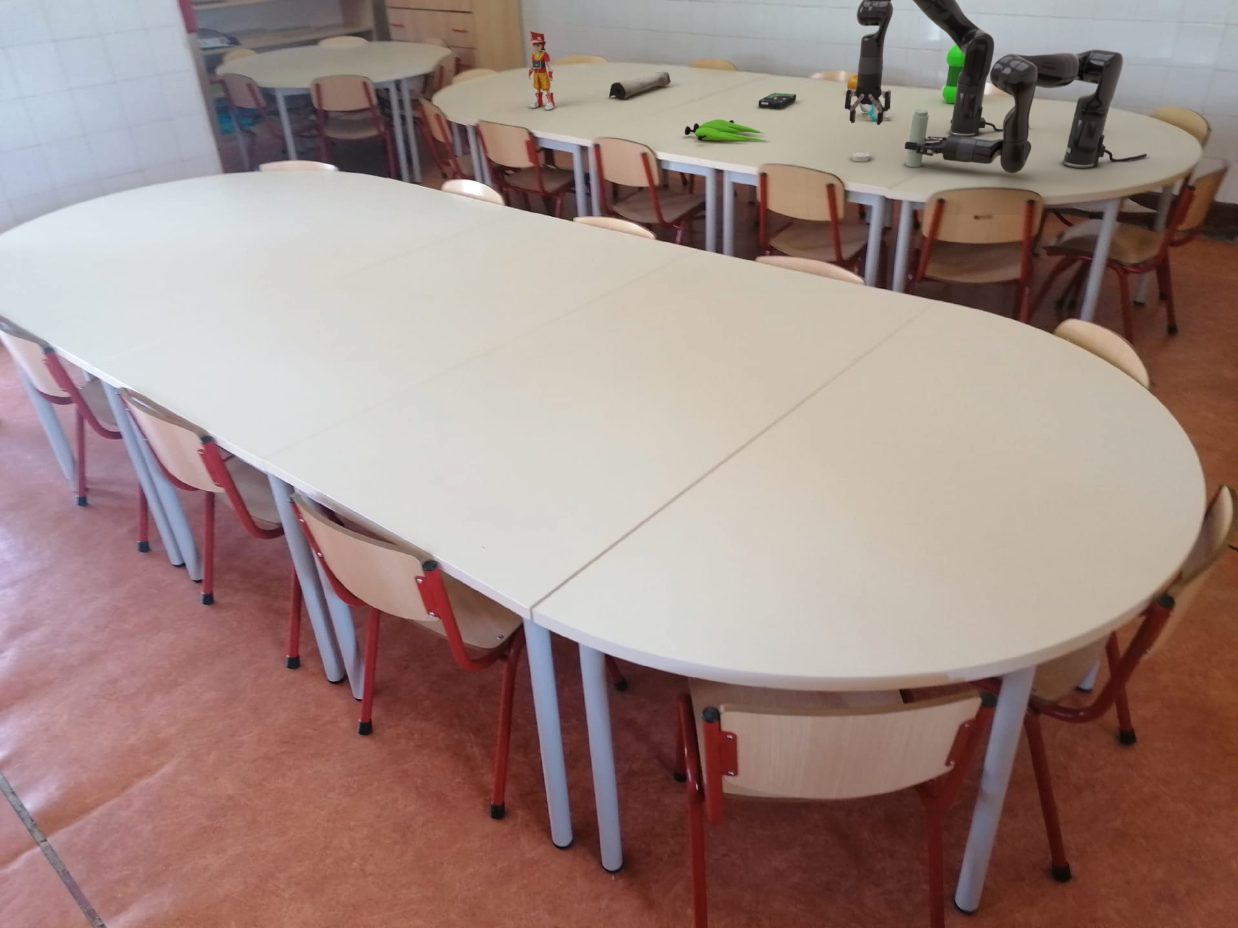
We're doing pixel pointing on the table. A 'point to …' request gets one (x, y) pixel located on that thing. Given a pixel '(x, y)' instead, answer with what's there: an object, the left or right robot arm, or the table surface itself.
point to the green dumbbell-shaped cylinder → (953, 73)
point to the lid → (860, 156)
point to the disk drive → (777, 100)
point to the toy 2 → (721, 131)
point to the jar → (917, 136)
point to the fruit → (852, 83)
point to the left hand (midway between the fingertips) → (865, 123)
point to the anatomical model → (873, 111)
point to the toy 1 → (541, 71)
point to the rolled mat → (638, 84)
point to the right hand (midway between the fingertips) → (908, 143)
